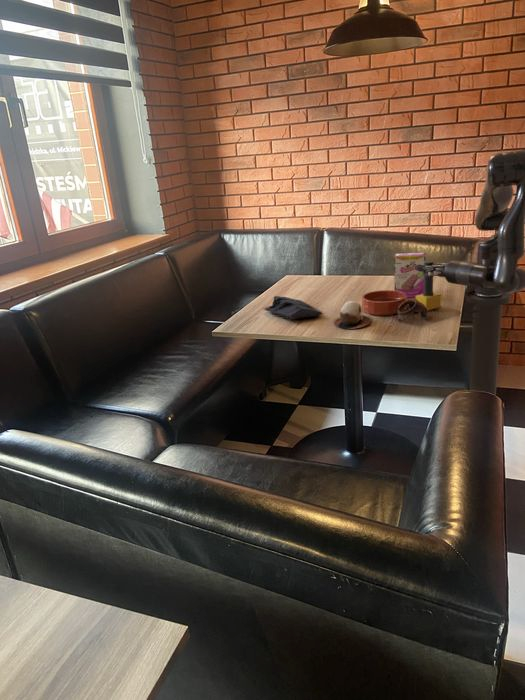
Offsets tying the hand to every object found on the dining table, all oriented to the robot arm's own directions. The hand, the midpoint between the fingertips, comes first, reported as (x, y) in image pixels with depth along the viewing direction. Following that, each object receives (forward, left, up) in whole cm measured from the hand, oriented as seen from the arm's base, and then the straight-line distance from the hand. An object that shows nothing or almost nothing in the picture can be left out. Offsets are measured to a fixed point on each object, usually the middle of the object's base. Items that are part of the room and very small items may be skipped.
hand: (421, 266), depth 183 cm
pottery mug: (+12, +5, -15) cm, 20 cm away
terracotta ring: (+7, -10, -15) cm, 20 cm away
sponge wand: (0, +3, -14) cm, 14 cm away
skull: (+25, -10, -15) cm, 31 cm away
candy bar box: (-11, -11, -15) cm, 22 cm away
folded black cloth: (+27, -36, -15) cm, 48 cm away
